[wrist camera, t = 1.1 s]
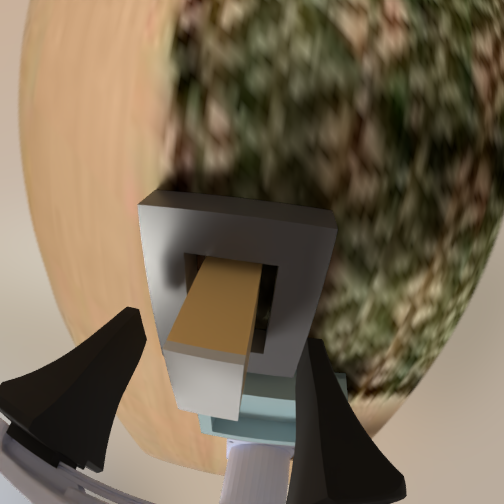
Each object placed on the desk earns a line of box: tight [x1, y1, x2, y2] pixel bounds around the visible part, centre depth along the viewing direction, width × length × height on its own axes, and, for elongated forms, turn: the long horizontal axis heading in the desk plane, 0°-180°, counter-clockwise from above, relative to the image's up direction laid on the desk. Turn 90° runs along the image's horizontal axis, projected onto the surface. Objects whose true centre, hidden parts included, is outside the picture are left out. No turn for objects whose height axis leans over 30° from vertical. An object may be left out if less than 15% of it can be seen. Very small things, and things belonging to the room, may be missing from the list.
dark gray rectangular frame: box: [138, 190, 338, 378], centre depth 14 cm, size 10×8×2 cm
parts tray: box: [198, 370, 348, 446], centre depth 19 cm, size 9×10×2 cm
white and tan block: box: [162, 256, 263, 421], centre depth 12 cm, size 4×3×6 cm, turn 176°
